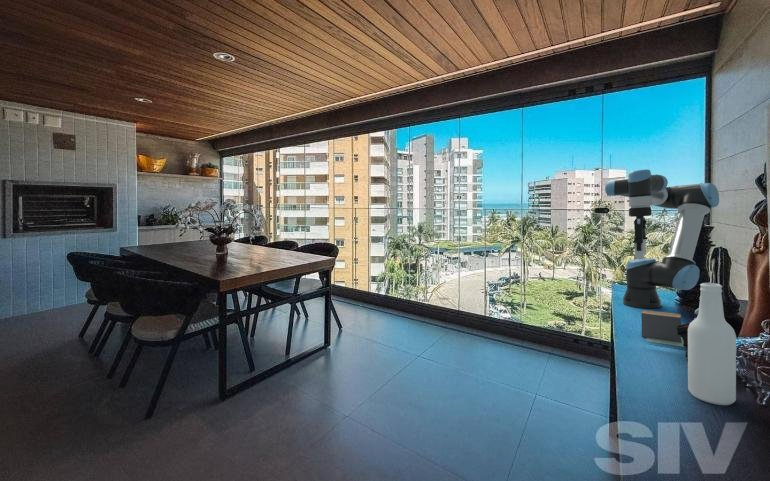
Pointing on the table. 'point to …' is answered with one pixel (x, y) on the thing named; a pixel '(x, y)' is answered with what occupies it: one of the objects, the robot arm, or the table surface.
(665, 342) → the header board
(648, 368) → the table surface
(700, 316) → the alcohol
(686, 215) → the robot arm
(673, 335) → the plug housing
